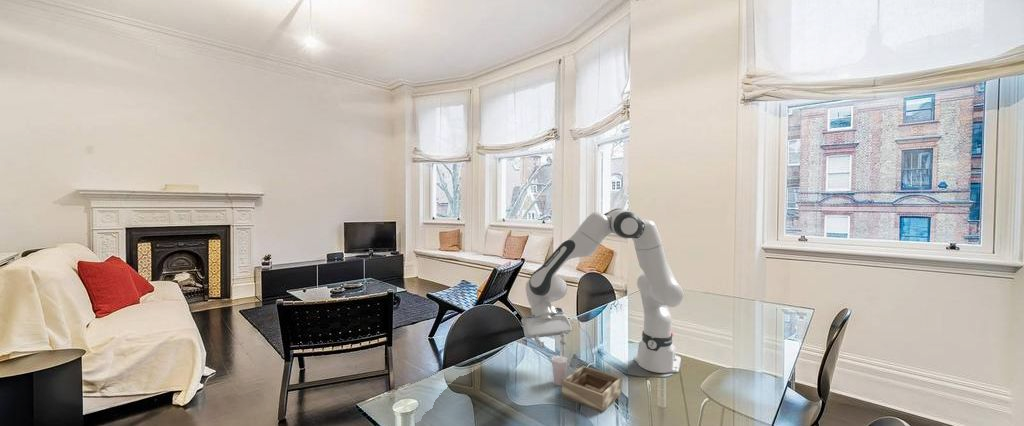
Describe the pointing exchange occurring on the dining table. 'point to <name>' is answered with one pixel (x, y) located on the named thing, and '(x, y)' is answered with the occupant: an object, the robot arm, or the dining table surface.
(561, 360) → the smoothie
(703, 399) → the dining table surface
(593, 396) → the open wooden box
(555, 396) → the dining table surface
